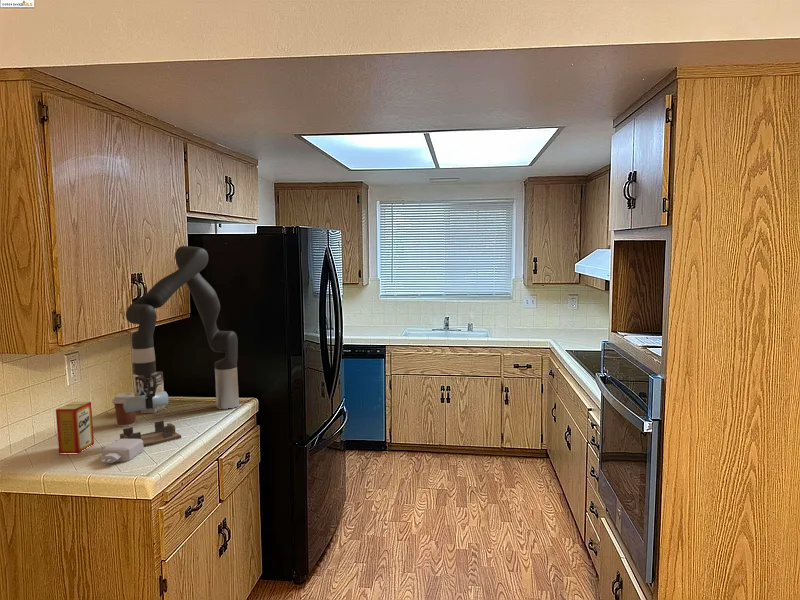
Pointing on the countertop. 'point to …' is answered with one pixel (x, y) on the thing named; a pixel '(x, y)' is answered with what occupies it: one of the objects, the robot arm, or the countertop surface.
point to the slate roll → (140, 403)
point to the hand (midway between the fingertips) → (146, 406)
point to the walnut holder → (153, 434)
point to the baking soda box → (74, 427)
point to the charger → (122, 450)
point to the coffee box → (156, 390)
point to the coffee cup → (121, 415)
